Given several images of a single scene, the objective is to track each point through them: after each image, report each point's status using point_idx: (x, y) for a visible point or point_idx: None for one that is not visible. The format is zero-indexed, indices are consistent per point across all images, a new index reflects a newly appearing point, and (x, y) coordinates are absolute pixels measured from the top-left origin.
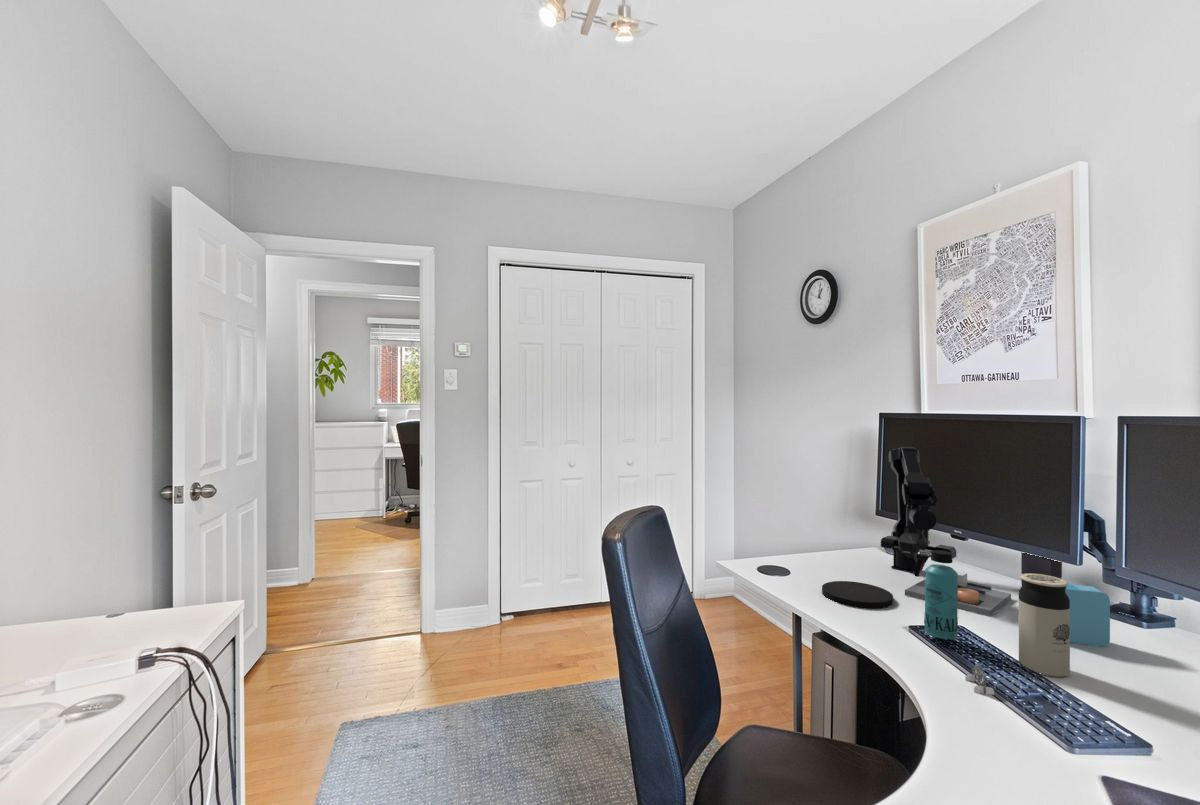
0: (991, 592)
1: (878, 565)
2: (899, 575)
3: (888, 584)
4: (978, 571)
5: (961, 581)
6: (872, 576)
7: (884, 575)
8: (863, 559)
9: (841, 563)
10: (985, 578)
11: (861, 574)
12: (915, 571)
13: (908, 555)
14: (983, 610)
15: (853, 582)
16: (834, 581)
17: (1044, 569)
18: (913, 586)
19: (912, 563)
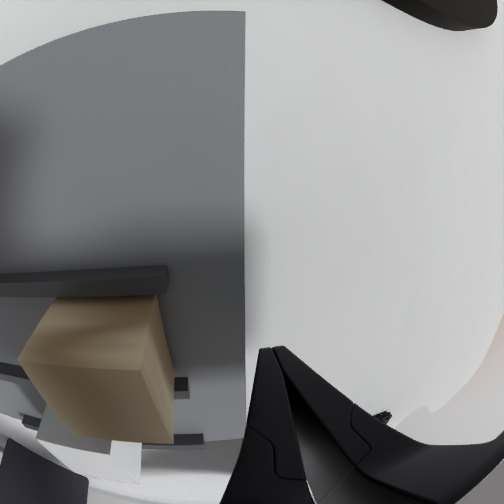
0: (2, 393)
1: (420, 397)
2: (364, 383)
3: (394, 204)
4: (199, 500)
5: (49, 412)
6: (453, 275)
7: (415, 333)
8: (445, 396)
9: (498, 318)
10: (159, 488)
11: (478, 262)
12: (289, 372)
13: (442, 470)
14: None
15: (475, 14)
16: (496, 4)
17: (14, 496)
18: (229, 170)
19: (345, 423)
